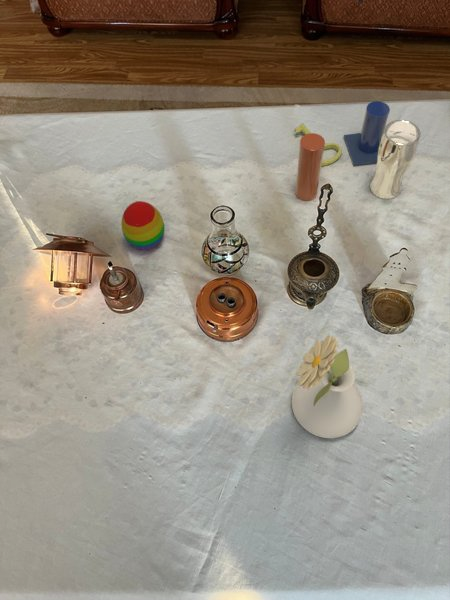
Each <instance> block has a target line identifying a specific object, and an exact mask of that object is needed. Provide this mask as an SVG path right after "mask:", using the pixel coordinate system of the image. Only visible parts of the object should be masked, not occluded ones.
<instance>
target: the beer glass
mask: <svg viewBox="0 0 450 600" xmlns="http://www.w3.org/2000/svg"><path fill="white" fill-rule="evenodd" d="M420 138H421V130H420V128H419V127H418V126H417V124H415V123H414V122H411V121H409V120H406V119H396V120H392V121H390V122H389V123H386V126H385V129H384V132H383V135H382V137H381V140H380V143H379V147H378V151H377V163H376V166H375V167H376V168H375V174H374V177H373V178H372V180H371V181H370V185H369V186H370V187H369V189H370V192H371V193H372V194H373V195H374V196H376V197H377V198H380V199H383V200H389V199H394V198H395V197H397V196H398V195H399V194H400V192H401V186H402V180H403V178H404V176H405V174H406V172H407V171H408V169H409V168H410V166H411V164H412V162H413V160H414V159H415V156H416V153H417V151H418V147H419V142H420Z"/></svg>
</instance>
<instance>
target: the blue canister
mask: <svg viewBox="0 0 450 600" xmlns="http://www.w3.org/2000/svg"><path fill="white" fill-rule="evenodd" d="M390 110H391V109H390V106H389V105H388V104H387V103H386V102H384V101H379V100H378V101H377V100H375V101H371V102H369V103H368V104H367V105H366V107H365V112H364V116H363V121H362V125H361V129H360V133H361V135H360V139H359V143H358V147H359V149H360V150H361V151H362V152H364V153H369V154H371V153H375V152H377V151H378V147H379V143H380V140H381V137H382V135H383V132H384V129H385V127H386V125H387V122H388V118H389V115H390Z"/></svg>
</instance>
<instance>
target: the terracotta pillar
mask: <svg viewBox="0 0 450 600" xmlns="http://www.w3.org/2000/svg"><path fill="white" fill-rule="evenodd" d="M325 144H326V140H325V138H324V137H323V136H322V135H320V134H318V133H316V132H315V133H314V132H311V133H309V134H306V135H305V134H303V136H301V137H300V140H299V148H298V157H297V158H298V160H297V170H296V180H295V190H294V194H295V196H296V197H297V199H299V200H300V201H304V202H309V201H310V202H311V201H312V200H314V199H316V197H317V196H318V193H319V192H318V191H319V185H320V178H321V172H322V166H321V165H322V161H323V158H324V151H325V150H324V145H325Z"/></svg>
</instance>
